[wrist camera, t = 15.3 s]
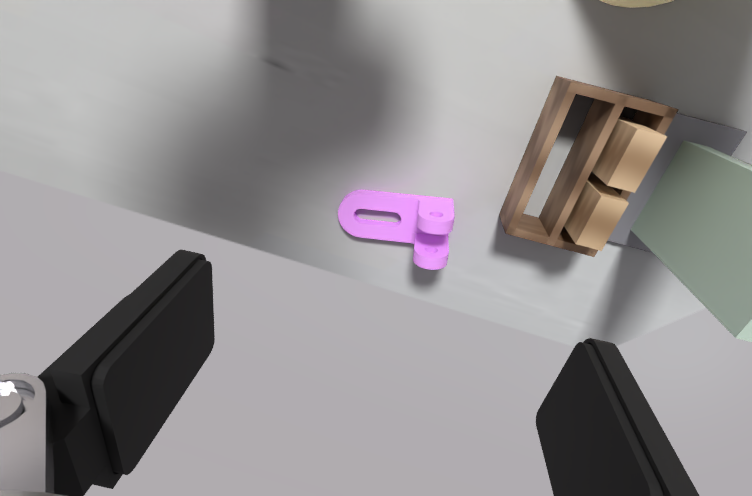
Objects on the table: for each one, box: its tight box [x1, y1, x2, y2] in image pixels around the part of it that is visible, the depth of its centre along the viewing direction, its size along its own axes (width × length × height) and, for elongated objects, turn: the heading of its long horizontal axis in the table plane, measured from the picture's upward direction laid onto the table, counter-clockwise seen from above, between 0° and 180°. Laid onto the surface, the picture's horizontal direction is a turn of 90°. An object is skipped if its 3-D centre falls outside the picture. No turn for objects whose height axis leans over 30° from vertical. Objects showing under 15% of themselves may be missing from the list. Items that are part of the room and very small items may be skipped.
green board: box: [631, 141, 752, 342], centre depth 34 cm, size 10×2×18 cm, turn 167°
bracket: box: [338, 190, 454, 270], centre depth 45 cm, size 13×6×7 cm, turn 87°
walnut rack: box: [499, 76, 678, 257], centre depth 41 cm, size 15×9×5 cm, turn 167°
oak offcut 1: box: [564, 173, 629, 251], centre depth 41 cm, size 5×2×8 cm, turn 167°
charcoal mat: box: [607, 113, 747, 252], centre depth 42 cm, size 14×7×1 cm, turn 167°
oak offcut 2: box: [592, 116, 667, 193], centre depth 38 cm, size 5×2×8 cm, turn 167°
